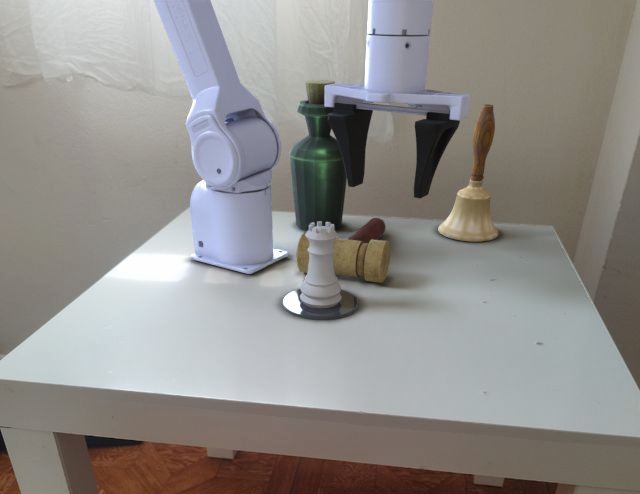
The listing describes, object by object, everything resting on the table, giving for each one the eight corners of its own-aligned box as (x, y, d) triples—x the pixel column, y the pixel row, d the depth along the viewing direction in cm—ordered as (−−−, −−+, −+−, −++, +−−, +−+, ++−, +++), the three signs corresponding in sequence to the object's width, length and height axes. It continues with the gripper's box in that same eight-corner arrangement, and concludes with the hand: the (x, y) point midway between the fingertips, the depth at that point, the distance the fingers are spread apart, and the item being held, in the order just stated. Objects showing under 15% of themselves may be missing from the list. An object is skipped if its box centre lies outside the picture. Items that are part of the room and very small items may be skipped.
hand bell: (509, 232, 86) (532, 104, 77) (479, 246, 81) (501, 111, 72) (457, 220, 90) (474, 98, 81) (426, 233, 85) (440, 104, 76)
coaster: (267, 307, 64) (267, 305, 64) (309, 283, 70) (309, 281, 70) (332, 326, 61) (332, 323, 61) (371, 299, 66) (371, 297, 66)
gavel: (348, 201, 86) (419, 209, 83) (346, 235, 88) (415, 243, 86) (295, 236, 69) (382, 246, 66) (295, 276, 71) (379, 288, 68)
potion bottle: (329, 237, 83) (331, 87, 73) (279, 227, 87) (275, 82, 76) (357, 222, 89) (363, 80, 79) (309, 213, 92) (309, 76, 82)
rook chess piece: (300, 292, 67) (300, 218, 62) (341, 293, 67) (344, 218, 62) (298, 309, 63) (297, 231, 59) (341, 310, 63) (344, 232, 59)
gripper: (307, 33, 56) (307, 188, 64) (456, 39, 50) (436, 210, 58) (346, 31, 61) (342, 175, 69) (486, 36, 55) (464, 194, 62)
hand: (387, 190), depth 63 cm, fingers open, 7 cm apart
